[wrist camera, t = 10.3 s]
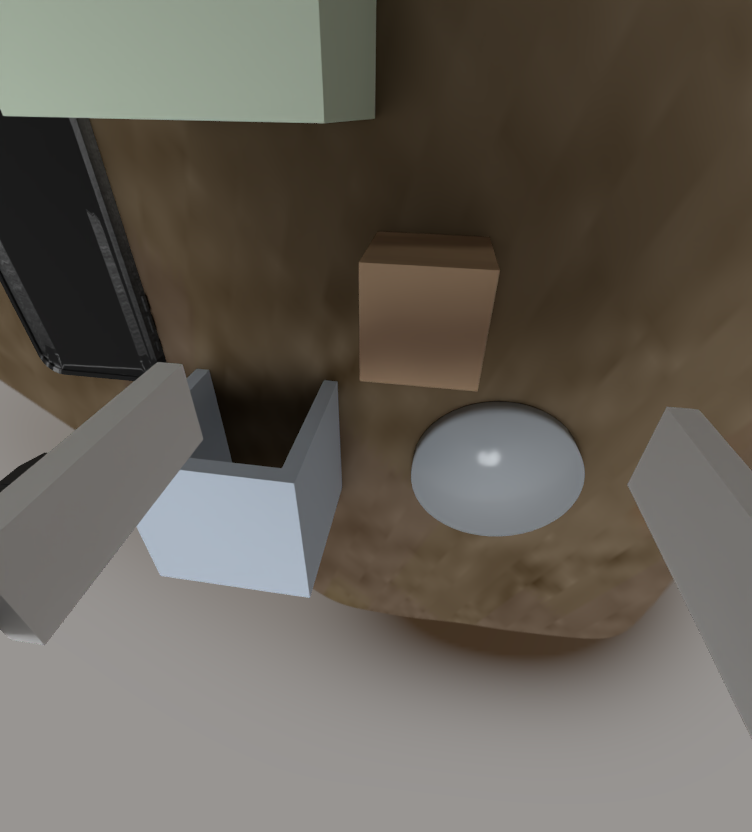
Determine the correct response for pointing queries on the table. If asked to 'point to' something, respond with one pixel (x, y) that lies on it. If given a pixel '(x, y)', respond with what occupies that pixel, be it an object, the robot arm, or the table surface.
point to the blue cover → (249, 505)
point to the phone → (70, 253)
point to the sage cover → (189, 59)
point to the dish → (497, 469)
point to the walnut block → (425, 309)
